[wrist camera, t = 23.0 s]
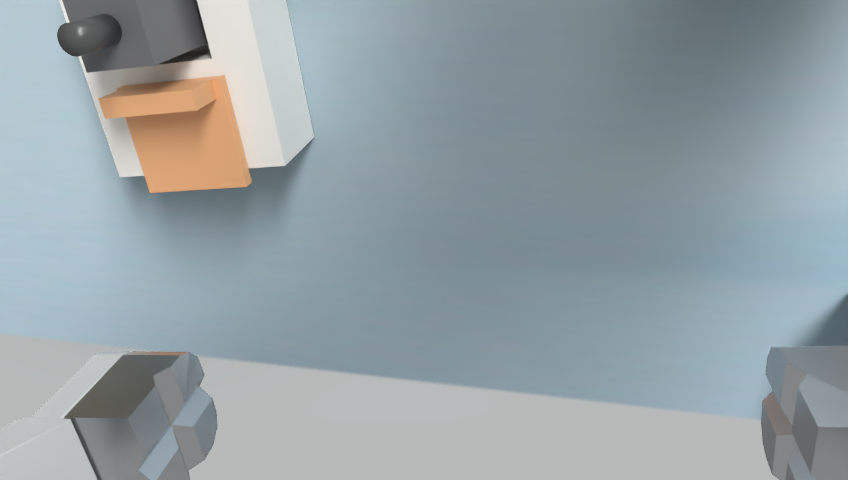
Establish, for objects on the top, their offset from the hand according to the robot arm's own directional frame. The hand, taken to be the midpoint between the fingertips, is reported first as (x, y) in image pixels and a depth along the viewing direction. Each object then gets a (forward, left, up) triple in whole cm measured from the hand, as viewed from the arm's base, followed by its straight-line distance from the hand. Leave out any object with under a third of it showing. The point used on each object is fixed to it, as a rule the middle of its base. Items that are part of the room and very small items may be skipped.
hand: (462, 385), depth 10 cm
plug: (-3, -22, -35) cm, 41 cm away
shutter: (+4, -22, -31) cm, 38 cm away
